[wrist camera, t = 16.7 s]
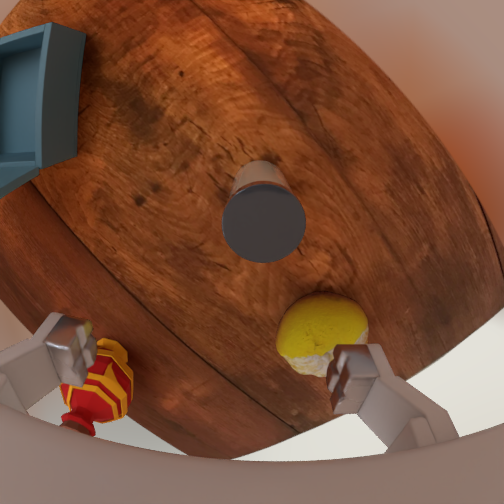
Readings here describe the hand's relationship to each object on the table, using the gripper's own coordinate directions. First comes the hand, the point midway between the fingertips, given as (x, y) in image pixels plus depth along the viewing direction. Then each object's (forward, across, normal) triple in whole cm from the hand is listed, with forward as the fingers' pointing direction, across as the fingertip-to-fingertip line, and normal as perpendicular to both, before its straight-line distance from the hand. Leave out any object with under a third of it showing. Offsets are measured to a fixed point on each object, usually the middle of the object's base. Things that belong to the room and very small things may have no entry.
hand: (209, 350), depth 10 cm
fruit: (+23, -11, +16) cm, 30 cm away
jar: (+23, -2, 0) cm, 23 cm away
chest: (+23, +24, -9) cm, 34 cm away
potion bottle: (+23, +16, +25) cm, 37 cm away
